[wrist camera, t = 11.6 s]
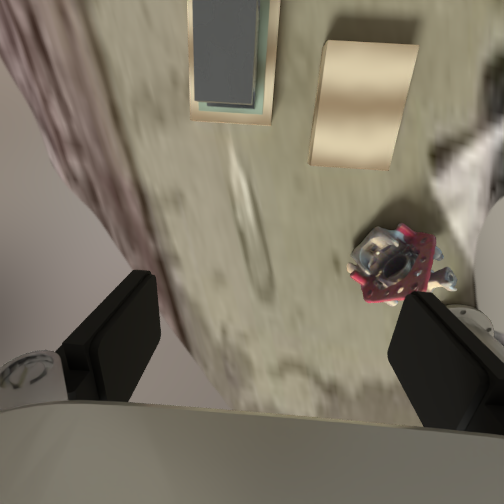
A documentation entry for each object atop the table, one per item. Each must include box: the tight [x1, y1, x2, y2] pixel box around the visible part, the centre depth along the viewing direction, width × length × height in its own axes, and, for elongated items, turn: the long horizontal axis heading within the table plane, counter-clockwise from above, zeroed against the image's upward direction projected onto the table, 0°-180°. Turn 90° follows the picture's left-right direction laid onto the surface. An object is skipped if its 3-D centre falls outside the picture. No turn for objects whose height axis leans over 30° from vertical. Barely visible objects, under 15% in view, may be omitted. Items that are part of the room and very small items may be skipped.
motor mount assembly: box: [347, 223, 457, 306], centre depth 36 cm, size 11×11×12 cm
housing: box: [192, 0, 260, 110], centre depth 25 cm, size 9×5×7 cm, turn 177°
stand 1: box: [187, 0, 280, 126], centre depth 30 cm, size 12×9×3 cm
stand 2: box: [307, 40, 419, 171], centre depth 31 cm, size 12×9×3 cm
